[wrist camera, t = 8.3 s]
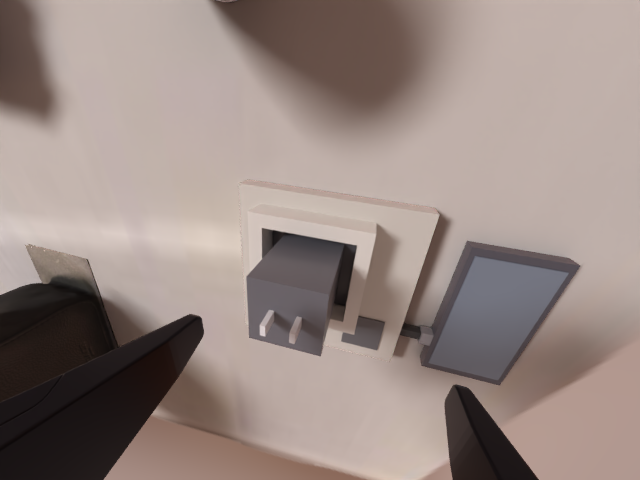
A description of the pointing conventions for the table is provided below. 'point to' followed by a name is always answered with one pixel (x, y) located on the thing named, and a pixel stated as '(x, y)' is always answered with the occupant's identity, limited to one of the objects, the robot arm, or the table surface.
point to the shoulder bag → (51, 323)
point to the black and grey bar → (418, 333)
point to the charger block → (294, 293)
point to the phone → (494, 309)
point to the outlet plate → (346, 255)
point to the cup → (226, 0)
